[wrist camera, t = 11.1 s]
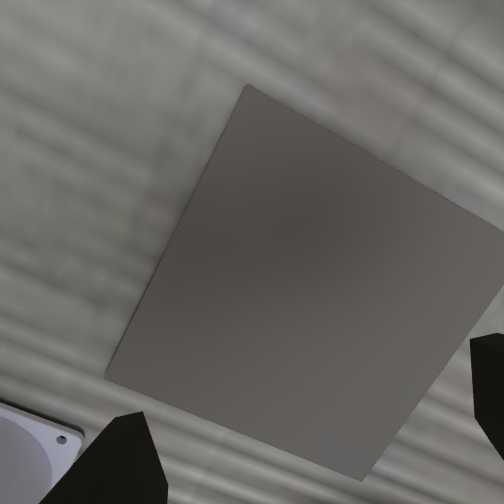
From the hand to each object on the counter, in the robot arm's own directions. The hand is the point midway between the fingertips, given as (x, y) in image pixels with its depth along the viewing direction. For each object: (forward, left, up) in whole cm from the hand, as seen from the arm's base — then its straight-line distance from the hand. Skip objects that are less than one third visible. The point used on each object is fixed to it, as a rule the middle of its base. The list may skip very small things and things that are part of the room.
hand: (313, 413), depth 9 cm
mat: (+3, -1, -10) cm, 11 cm away
